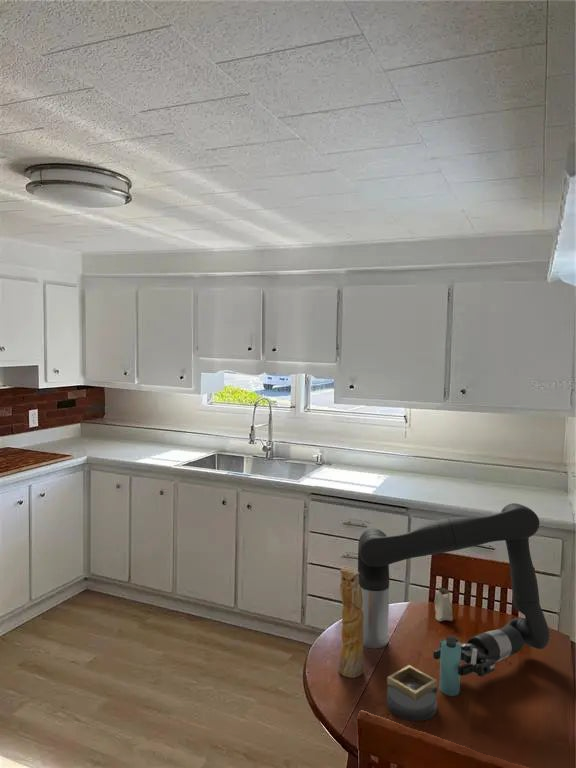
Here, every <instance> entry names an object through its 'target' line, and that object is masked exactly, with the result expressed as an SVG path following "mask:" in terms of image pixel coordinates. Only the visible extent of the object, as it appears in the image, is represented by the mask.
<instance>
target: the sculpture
mask: <svg viewBox="0 0 576 768" xmlns="http://www.w3.org/2000/svg"><path fill="white" fill-rule="evenodd" d="M339 573H340V574H341V575H340V584H339V588H340V589H339V590H340V597H341V603H342V606H343V607H342V609H341V610H342V611H341V615H342V616H341V617H342V618H341V623H342V627H341V640H342V641H341V644H342V645H341V650H340V657H339V662H338V673H340V675H342V676H343V677H346V678H352V679H353V678H358V677H360V676H361V675H363V674H364V646H363V618H364V613H363V611H362V610H361V609H362V604H363V597H362V590H361V587H360V585H359V577H358V575H359V574H360V573H359V572H358V570H355V569H351V568H344V569H343V568H342V569H341V568H340V569H339Z"/></svg>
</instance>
